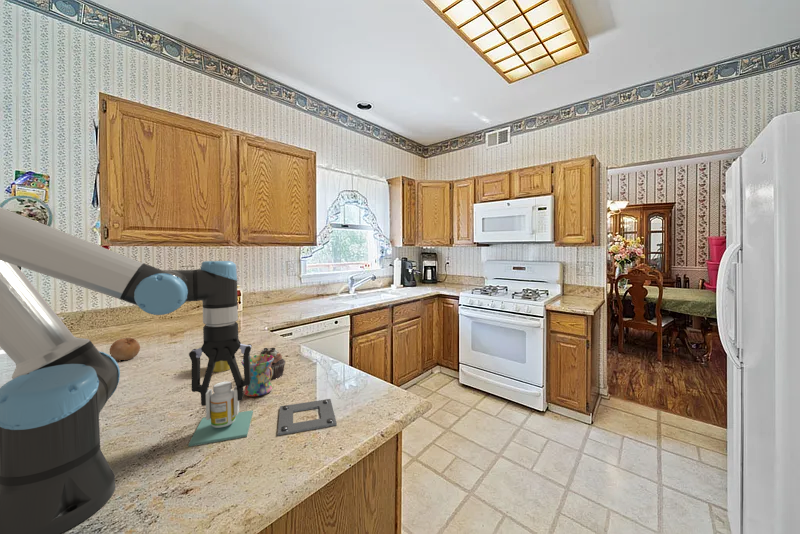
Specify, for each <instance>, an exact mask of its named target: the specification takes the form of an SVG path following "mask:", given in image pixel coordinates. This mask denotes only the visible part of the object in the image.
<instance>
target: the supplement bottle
mask: <svg viewBox="0 0 800 534" xmlns="http://www.w3.org/2000/svg"><path fill="white" fill-rule="evenodd" d="M232 386H233V385H232V382H231V381H227V380H226V381H221V382H218V383H215V384H214V385H213V387H212V395H211V397H210V406H211V425H212V426H213V427H215V428H221V427H225V426H228V425H230V424H232V423H233V422H234V421H235V417H236V416H234V389H232Z"/></svg>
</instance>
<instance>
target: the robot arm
mask: <svg viewBox="0 0 800 534" xmlns="http://www.w3.org/2000/svg"><path fill="white" fill-rule="evenodd" d="M200 265H201V266H200V268H199V269H167V270H165V269H160V268H157V267H155V266H152V265H149V264H146V263H144V262H141V261H139V260H136V259H134V258H131V257H129V256H127V255H124V254H121V253H118V252H116V251H113V250H110V249H108V248H105V247H104V246H101V245H98V244H96V243H94V242H90V241H88V240H86V239H83V238H81V237H77V236H75V235H72V234H70V233H67V232H65V231H62V230H59V229H57V228H54V227H52V226H49V225H47V224H44V223H42V222H39V221H37V220H34V219H31V218H29V217H26V216H24V215H21V214H18V213H16V212H15V211H11V210H8V209H6V208H4V207H1V206H0V349H2V350H3V351H4V352H5V354H6V355H7V356H8V357H9V358H10V359H11V360H12V361H13V362H14V364H15V369H14V371H13V374H12V376H11V380H9V381H7V382H6V383H5V384H3V385H1V386H0V534H62V533H65V532H66V531H68V530H70V529H72V528H74V527H75V526H77V525H79V524H80V523H82V522H84V521H85V520H87V519H88V518H89V517H91V516H93V515H94V514H95V513H97V512H98V511H99V510H100V509H102V508H103V506H105V505H106V504H107V502H108V501H109V500H110V499H111V498H112V496H113V494H114V493H115V490H116V477H115V475H116V474H115V473H114V471H113V469H112V467H111V466H110V463H109V461H108V460H107V458H106V457H105V455H104V453H103V452H102V449H101V433H100V432H101V431H100V413H101V411H102V410H103V409H104V407H105V405H106V404H107V402H108V401H109V399H110V398H111V397H112V396H113V394H114V393H115V391H116V390H117V388H118V386H119V382H120V377H121V375H120V374H121V370H120V365H119V363H118V362H117V360H116V359H115V358H113V357H111V354H108V353H106V352H104V351H99V349H98V348H97V347H96V346H95V345H94V343H93V342H92V341H91V340H90V339H89V338H84V337H83V338H82V337H78V336H74V334H73V333H72V332H71V330H70V329H69V328H68V327H67V325H66V324H65V323H64V322H63V321H62V320H61V318H60V317H59V316H58V315H57V313H56V312H55V311H54V309H52V307H51V306H50V304H48V302H47V301H46V300H45V299H44V297H43V296H42V295H41V293H40V292H39V291H38V290H37V289H36V287H35V286H34V285H33V284H32V282H31V281H30V280H29V278H27V276H26V275H25V274H24V272H23V271H22V270H21V269H20V268H23V269H25V270H29V271H33V272H36V273H38V274H41V275H44V276H48V277H50V278H54V279H57V280H60V281H63V282H65V283H69V284H72V285H75V286H77V287H78V286H79V287H81V288H85V289H87V290H90V291H93V292H95V293H96V292H97V293H99V294H103V295H105V296H108V297H111V298H115V299H118V300H120V301H123V302H126V303H129V304H132V305H135V306H138V308H139V309H141V310H142V311H143V312H144V313H147V314H149V315H155V316H163V315H168V314H171V313H173V312H175V311H177V310H178V309H180V308H181V307H182V306H183V305H184V304H185V303H189V302H198V301H199V302H200V301H202V324H204V326H202V332H203V333H202V334H203V335H202V336H203V343H202V345H201V346H200V347H199V348H193V349H192V350H191V351H189V353H188V356H189V359H190V361H191V385H190V386H191V392H192V393H196V392H197V393H200V404H201V406H203V407H204V406H205V417H206V420H209V419H210V418H211V406H210V397H211V395H212V394H213V388H209V387H210V382H211V379H212V376H213V369H214V366H215V363H216V362H218V361H227V363H228V365H229V367H230V369H229V371H230V372H231V376H232V377H233V380H234V383H235V386H234V389H233V391H234V416H236V415H238V412H240V401H243V398H244V397H245V396H244V395H245V394H244V388H245V387H246V385H249V384H250V381H251V368H250V355H251V354H250V353H251V350H252V347H253V346H252V344H251V343H249V344H244V343H241V341H240V339H239V323H238V322H237V321H238V320H239V313H238V312H239V311H238V309H239V308H238V306H239V305H238V275H237V265H236V263H235V262H233V261H231V260H205V261H202V262H201V264H200ZM238 350H240V352H241V354H243V356H242V360H243V364H244V367H243V376H242V374H241V372H240V371H241V370H240V368H239V366H238V363H237V359H236V358H237V357H236V356H235V354H236V353H237V352H238ZM203 354H204V355H205V356H206V357H207V358H209V359H208V361H207V366H206V369H205V374H204V376H203V379H202V384H201V357H202V355H203ZM243 378H244V379H243Z"/></svg>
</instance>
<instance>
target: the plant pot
mask: <svg viewBox="0 0 800 534" xmlns="http://www.w3.org/2000/svg"><path fill="white" fill-rule="evenodd" d="M207 358H208V357H207ZM208 360H209V358H208ZM227 371H230V367H229V365H228V363H227V361H218V362H216V363H215V366H214V369H213V372H214V373H222V372H223V373H224V372H227Z"/></svg>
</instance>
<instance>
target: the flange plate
mask: <svg viewBox="0 0 800 534" xmlns="http://www.w3.org/2000/svg"><path fill="white" fill-rule="evenodd" d="M316 409H317V410H318V409H319V414H320V418H316V419H312V420H311V419H310V420H304V421H298V422H294V413H297V412H302V411H303V412H304V411H309V410H316ZM334 411H335V410H334V407H333V405H332V399H331V398H326V399H320V400H313V401H307V402H300V403H299V402H298V403H293V404H287V405H285V404H284V405H280V406H279V415H278V416H279V417H278V425H277V436H278V437H279V436H283V435H289V434H294V433H301V432H306V431H312V430H318V429H323V428H324V429H325V428H330V427H336V426H337V419H336V415H335V412H334Z"/></svg>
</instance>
